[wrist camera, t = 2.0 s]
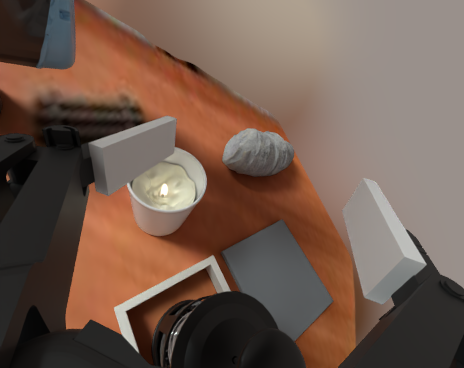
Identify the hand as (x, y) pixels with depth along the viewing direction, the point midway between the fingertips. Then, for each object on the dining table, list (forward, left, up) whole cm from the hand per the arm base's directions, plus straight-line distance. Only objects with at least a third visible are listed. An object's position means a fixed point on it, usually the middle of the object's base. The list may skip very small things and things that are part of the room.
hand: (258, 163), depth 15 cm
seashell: (+22, +12, -25) cm, 36 cm away
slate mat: (+12, -11, -25) cm, 30 cm away
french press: (-5, -11, -25) cm, 28 cm away
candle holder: (-2, +8, -25) cm, 27 cm away
